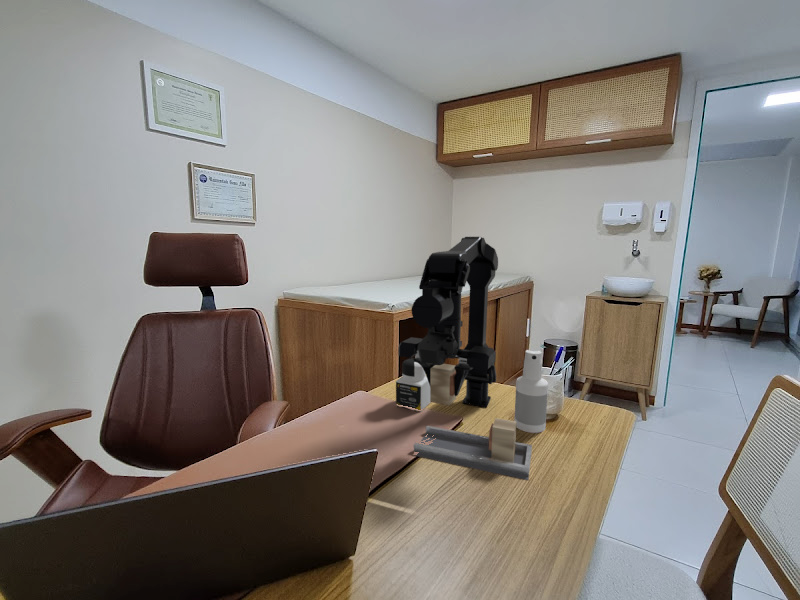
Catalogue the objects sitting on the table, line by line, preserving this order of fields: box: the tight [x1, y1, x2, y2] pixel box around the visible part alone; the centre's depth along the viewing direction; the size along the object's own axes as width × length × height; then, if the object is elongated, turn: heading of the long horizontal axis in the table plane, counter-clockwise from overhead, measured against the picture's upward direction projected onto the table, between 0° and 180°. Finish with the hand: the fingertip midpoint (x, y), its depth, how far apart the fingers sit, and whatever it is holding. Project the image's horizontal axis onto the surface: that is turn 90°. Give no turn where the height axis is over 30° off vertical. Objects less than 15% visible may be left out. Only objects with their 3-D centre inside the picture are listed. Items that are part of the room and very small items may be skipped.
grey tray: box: [413, 425, 533, 477], centre depth 76 cm, size 9×22×2 cm, turn 68°
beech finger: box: [430, 363, 457, 407], centre depth 77 cm, size 5×4×7 cm
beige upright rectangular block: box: [488, 417, 517, 463], centre depth 74 cm, size 4×5×7 cm
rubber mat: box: [415, 433, 530, 481], centre depth 76 cm, size 11×22×1 cm, turn 68°
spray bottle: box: [513, 349, 549, 434], centre depth 86 cm, size 7×7×18 cm
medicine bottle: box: [395, 357, 431, 410], centre depth 99 cm, size 7×7×12 cm
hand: (444, 393), depth 77 cm, fingers closed on beech finger, 5 cm apart
